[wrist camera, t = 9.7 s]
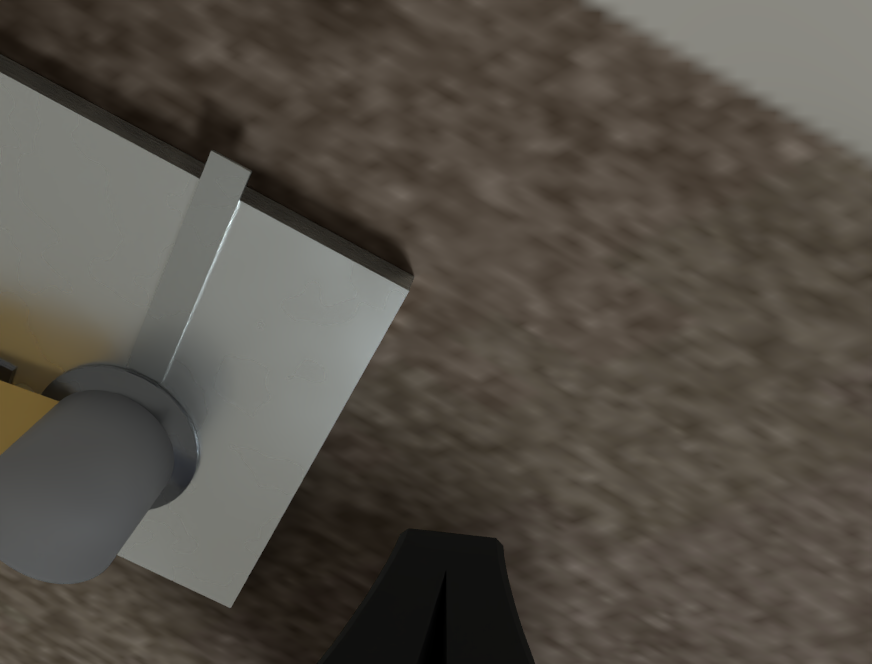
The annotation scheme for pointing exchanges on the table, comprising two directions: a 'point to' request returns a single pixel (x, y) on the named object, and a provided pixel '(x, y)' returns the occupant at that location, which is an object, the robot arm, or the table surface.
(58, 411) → the handle
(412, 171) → the table surface
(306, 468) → the base
